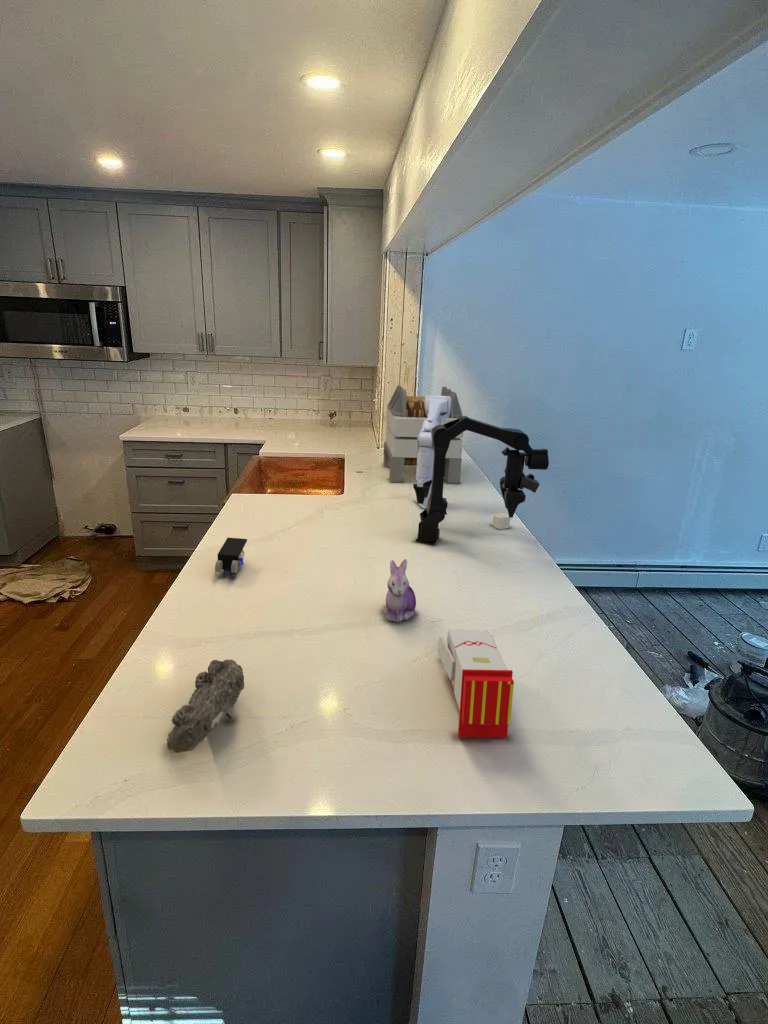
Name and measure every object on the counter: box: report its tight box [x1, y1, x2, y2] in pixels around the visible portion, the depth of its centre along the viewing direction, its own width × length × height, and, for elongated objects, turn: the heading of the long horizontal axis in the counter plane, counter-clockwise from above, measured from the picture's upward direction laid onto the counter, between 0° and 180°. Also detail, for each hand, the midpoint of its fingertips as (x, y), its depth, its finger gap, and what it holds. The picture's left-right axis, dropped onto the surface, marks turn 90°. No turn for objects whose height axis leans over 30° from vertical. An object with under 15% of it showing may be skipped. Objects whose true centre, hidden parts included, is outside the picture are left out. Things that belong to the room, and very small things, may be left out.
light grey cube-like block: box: [491, 512, 511, 530], centre depth 210 cm, size 4×5×4 cm
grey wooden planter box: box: [383, 384, 464, 484], centre depth 268 cm, size 34×33×41 cm
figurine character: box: [214, 537, 248, 578], centre depth 166 cm, size 7×8×15 cm
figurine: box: [384, 558, 417, 623], centre depth 145 cm, size 9×10×15 cm
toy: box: [437, 628, 515, 738], centre depth 117 cm, size 12×13×30 cm
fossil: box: [166, 658, 245, 754], centre depth 106 cm, size 22×10×15 cm
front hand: (509, 512), depth 192 cm, fingers open, 9 cm apart
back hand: (422, 500), depth 210 cm, fingers open, 7 cm apart
